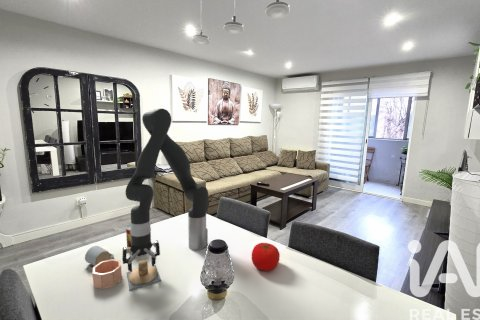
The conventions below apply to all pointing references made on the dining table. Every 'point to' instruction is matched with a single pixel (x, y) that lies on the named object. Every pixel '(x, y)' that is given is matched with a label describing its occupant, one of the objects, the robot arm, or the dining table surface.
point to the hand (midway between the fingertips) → (142, 268)
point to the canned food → (128, 236)
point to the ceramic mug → (97, 255)
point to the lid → (143, 273)
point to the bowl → (107, 273)
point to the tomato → (265, 256)
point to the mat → (133, 286)
